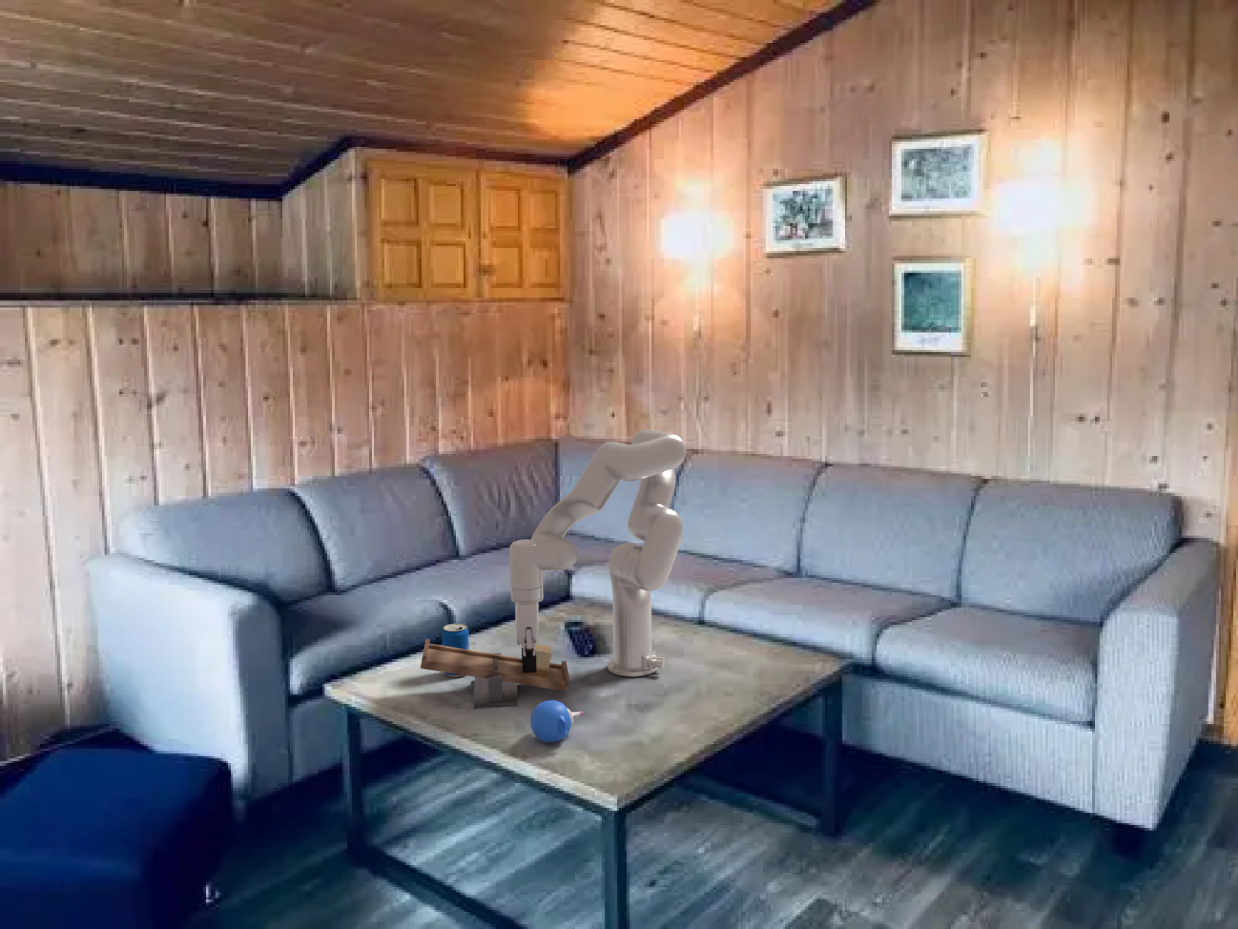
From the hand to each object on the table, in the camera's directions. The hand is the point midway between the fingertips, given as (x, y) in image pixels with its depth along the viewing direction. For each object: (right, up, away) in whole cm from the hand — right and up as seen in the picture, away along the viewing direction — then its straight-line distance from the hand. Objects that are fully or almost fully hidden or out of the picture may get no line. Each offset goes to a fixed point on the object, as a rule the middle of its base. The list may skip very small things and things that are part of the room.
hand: (529, 667), depth 248 cm
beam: (-8, 0, -1) cm, 8 cm away
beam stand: (-8, -6, 0) cm, 10 cm away
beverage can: (-19, -4, +13) cm, 23 cm away
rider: (+2, -1, 0) cm, 2 cm away
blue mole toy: (+8, -10, -26) cm, 29 cm away
